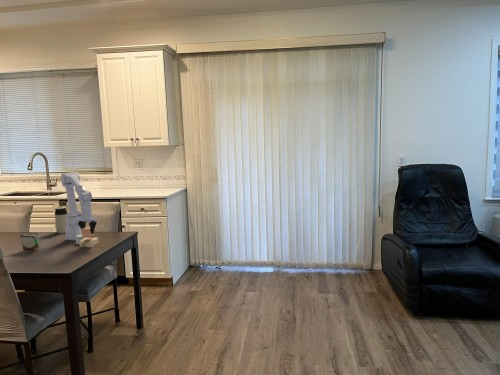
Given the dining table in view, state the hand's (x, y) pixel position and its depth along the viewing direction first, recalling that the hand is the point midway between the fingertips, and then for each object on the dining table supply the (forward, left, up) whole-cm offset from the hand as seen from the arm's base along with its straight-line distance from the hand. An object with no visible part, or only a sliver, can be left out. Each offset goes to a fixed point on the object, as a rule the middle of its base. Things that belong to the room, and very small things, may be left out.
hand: (88, 233), depth 225 cm
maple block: (0, 0, -8) cm, 8 cm away
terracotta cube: (0, 0, -2) cm, 2 cm away
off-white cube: (-8, +4, -8) cm, 12 cm away
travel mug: (-40, +29, -8) cm, 50 cm away
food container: (-29, -12, -8) cm, 32 cm away
